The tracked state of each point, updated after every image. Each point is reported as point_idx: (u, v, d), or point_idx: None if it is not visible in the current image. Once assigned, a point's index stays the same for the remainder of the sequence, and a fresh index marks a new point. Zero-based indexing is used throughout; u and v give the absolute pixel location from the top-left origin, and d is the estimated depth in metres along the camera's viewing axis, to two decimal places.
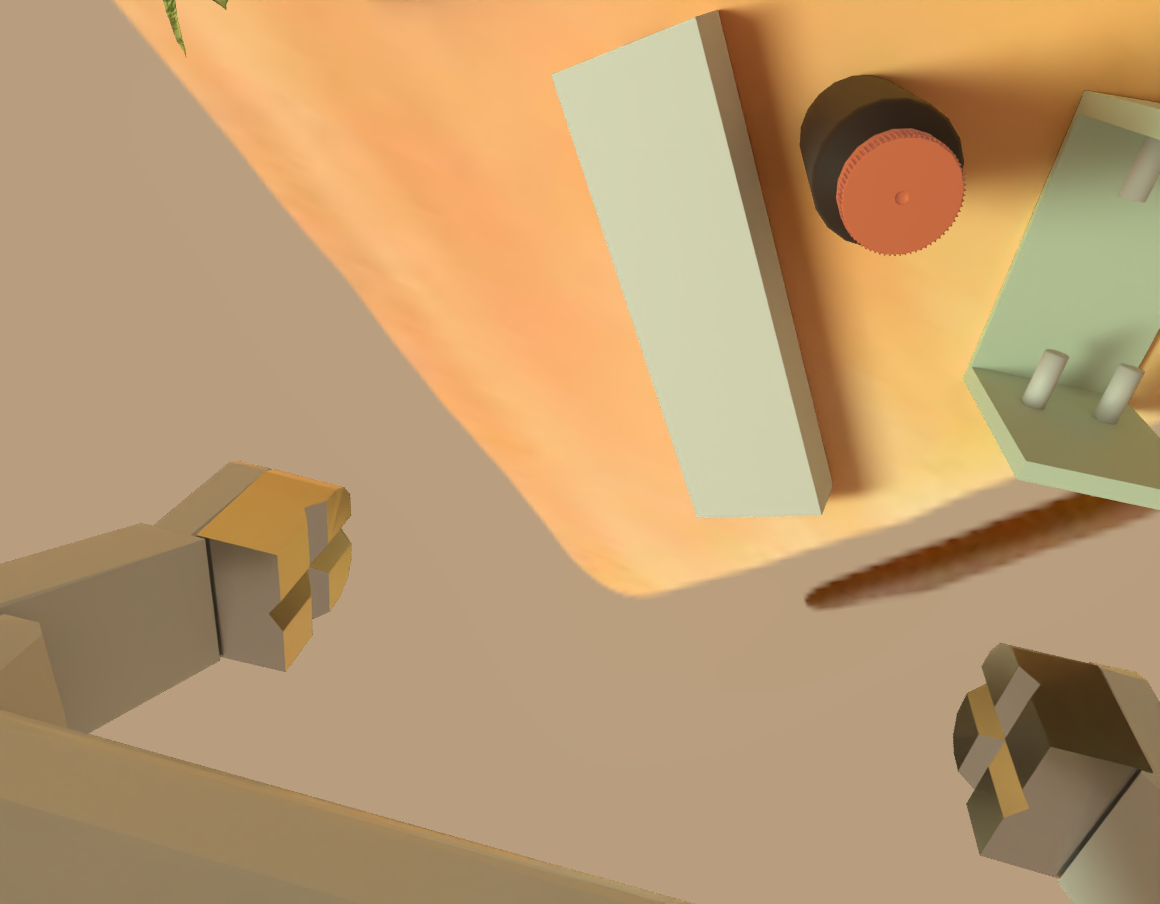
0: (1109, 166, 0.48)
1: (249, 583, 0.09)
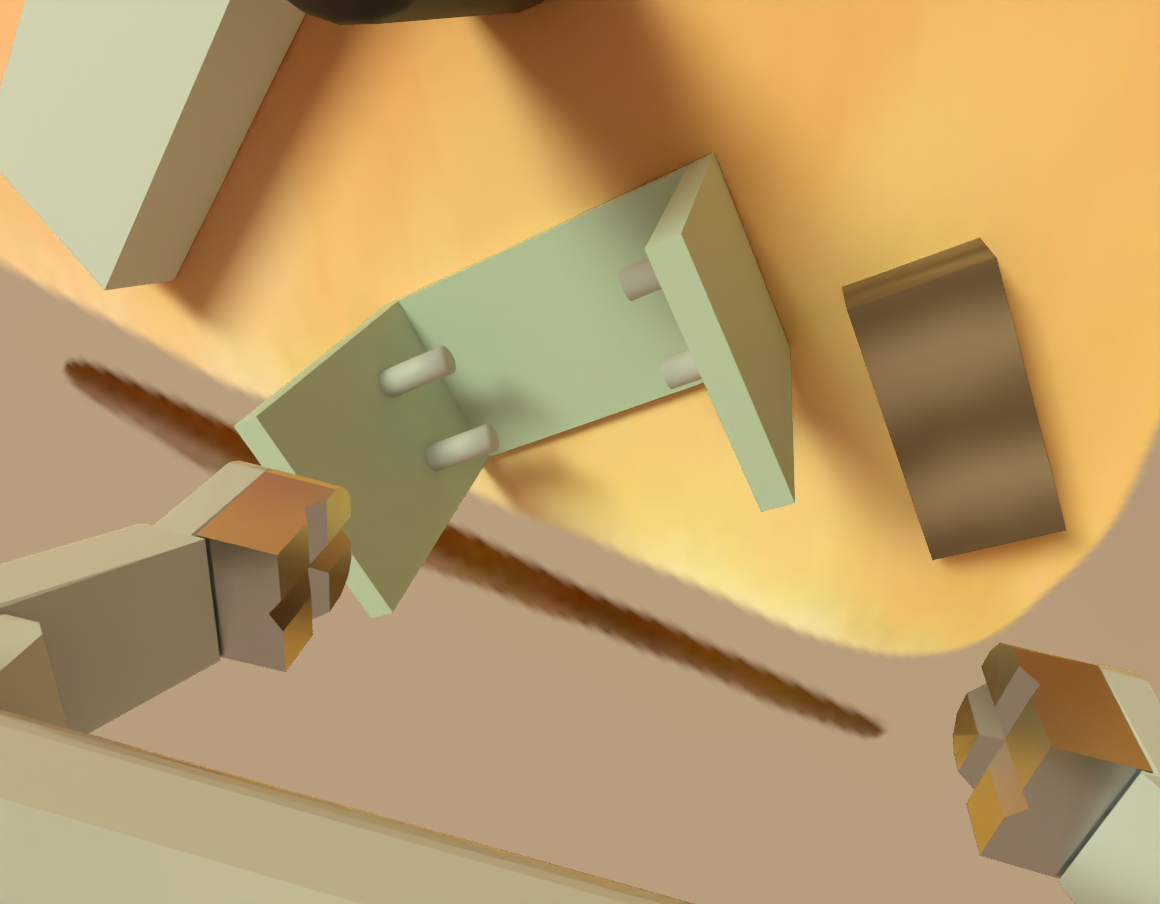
0: None
1: (249, 583, 0.09)
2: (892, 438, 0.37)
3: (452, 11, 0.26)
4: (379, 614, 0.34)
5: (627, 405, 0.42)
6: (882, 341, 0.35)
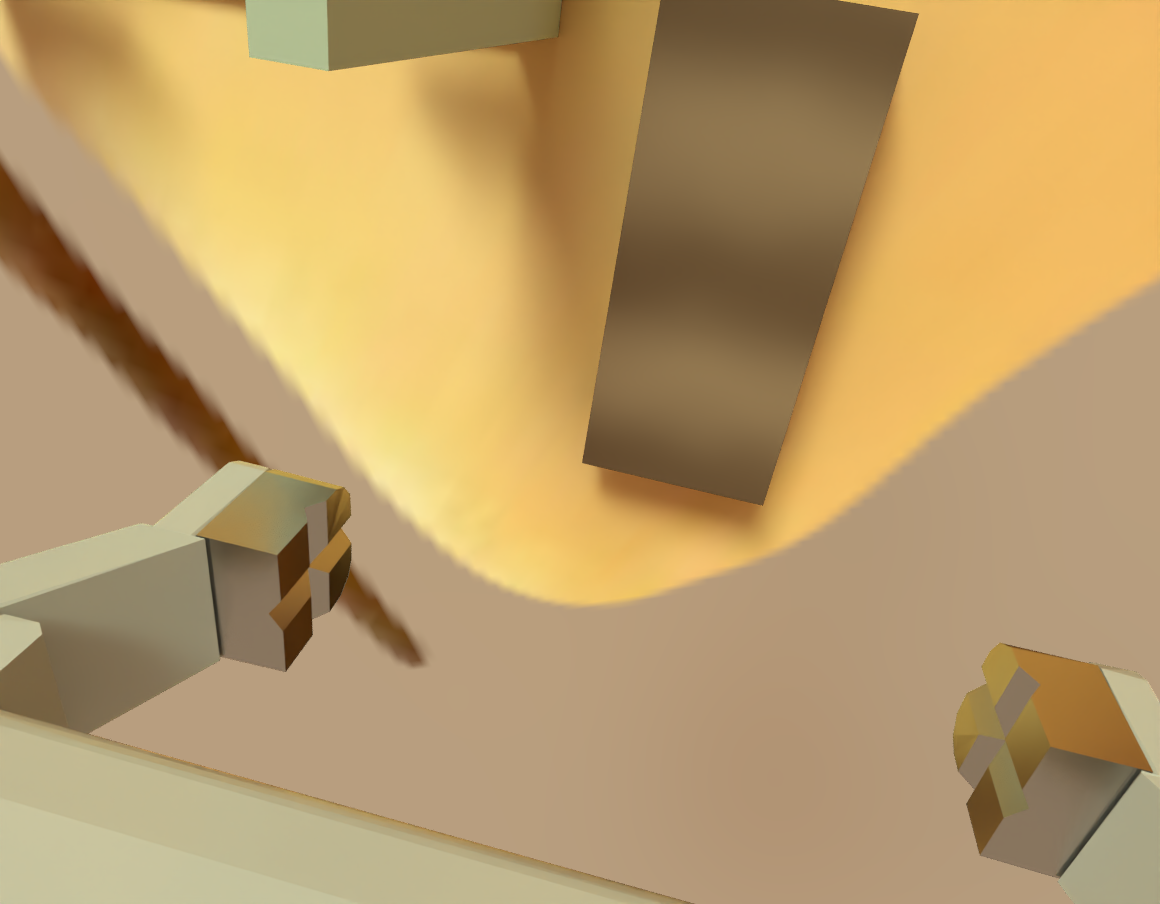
0: None
1: (249, 583, 0.09)
2: (620, 247, 0.23)
3: None
4: None
5: None
6: (687, 67, 0.20)
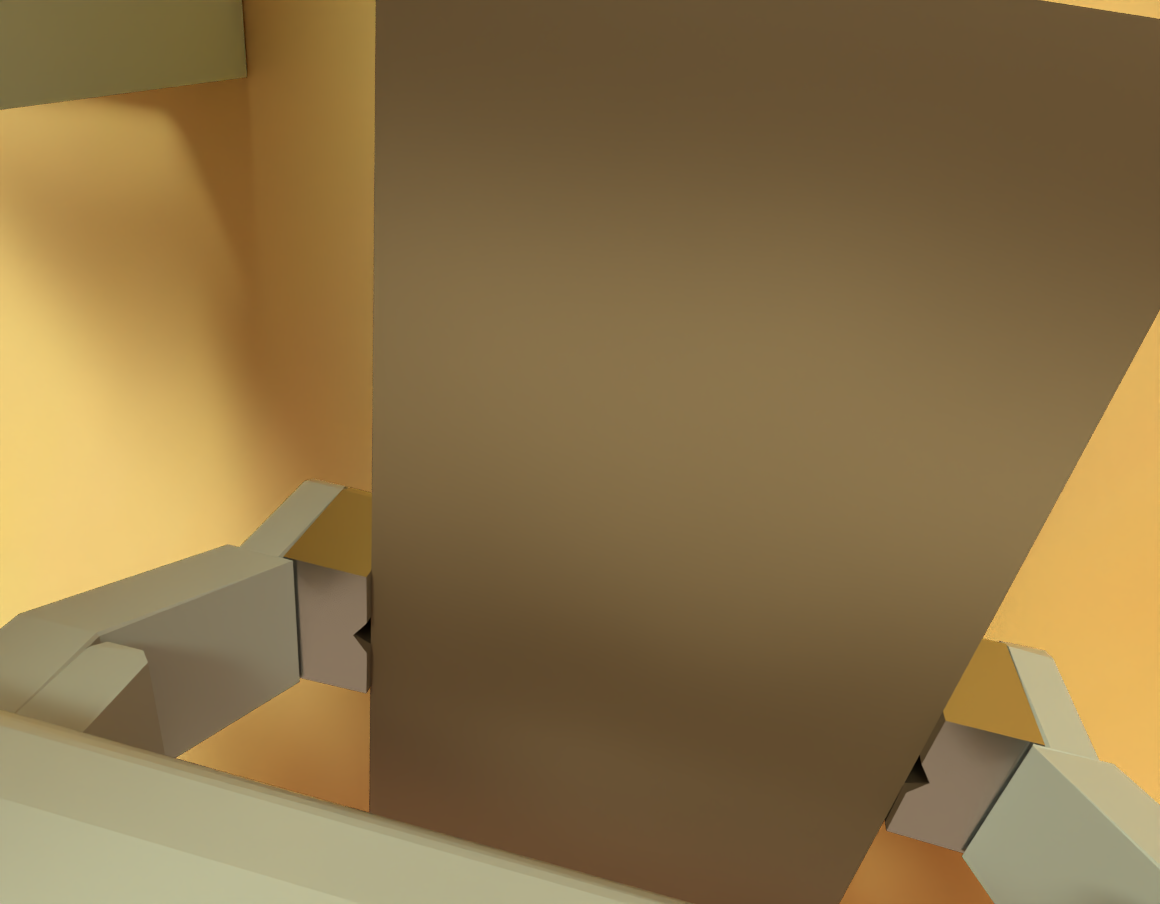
0: None
1: (335, 605, 0.09)
2: (375, 622, 0.09)
3: None
4: None
5: None
6: (487, 205, 0.06)
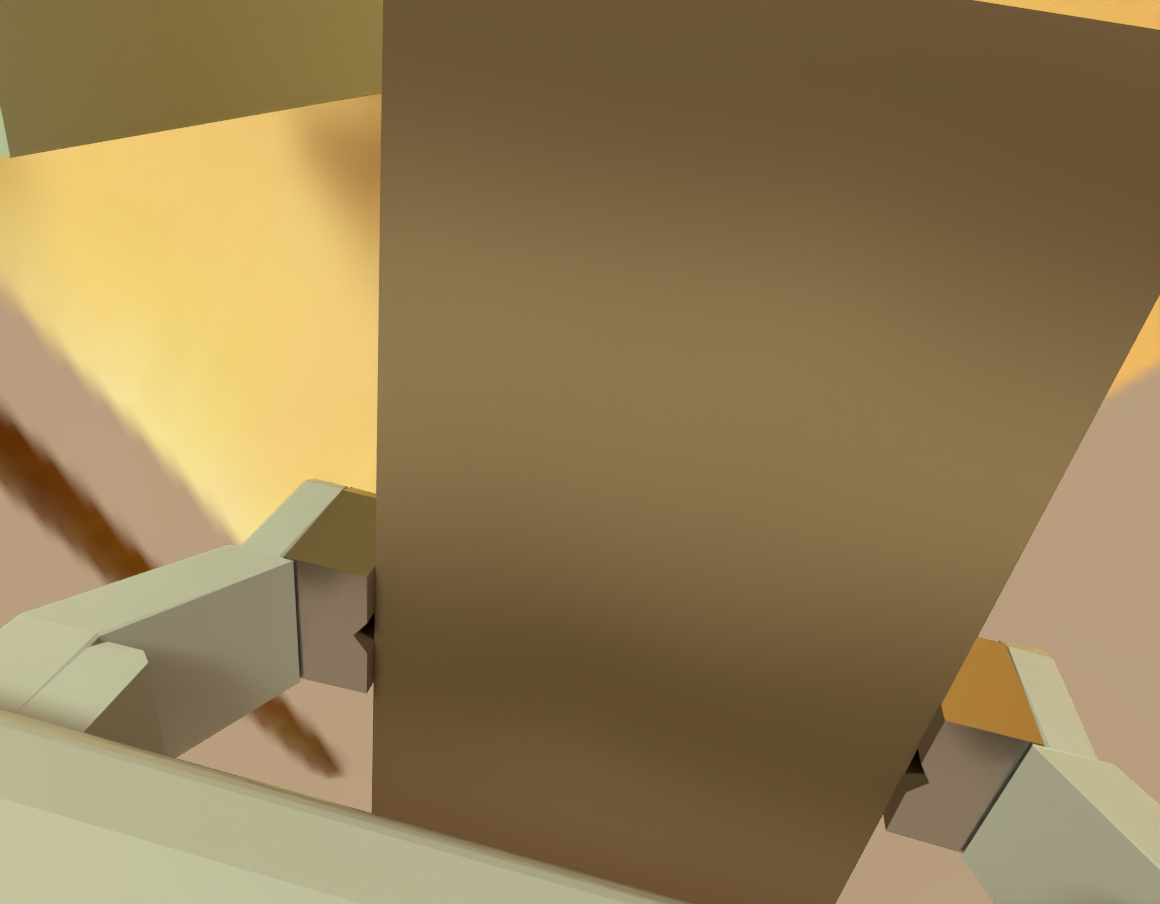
0: None
1: (335, 605, 0.09)
2: (379, 621, 0.09)
3: None
4: None
5: None
6: (491, 209, 0.06)
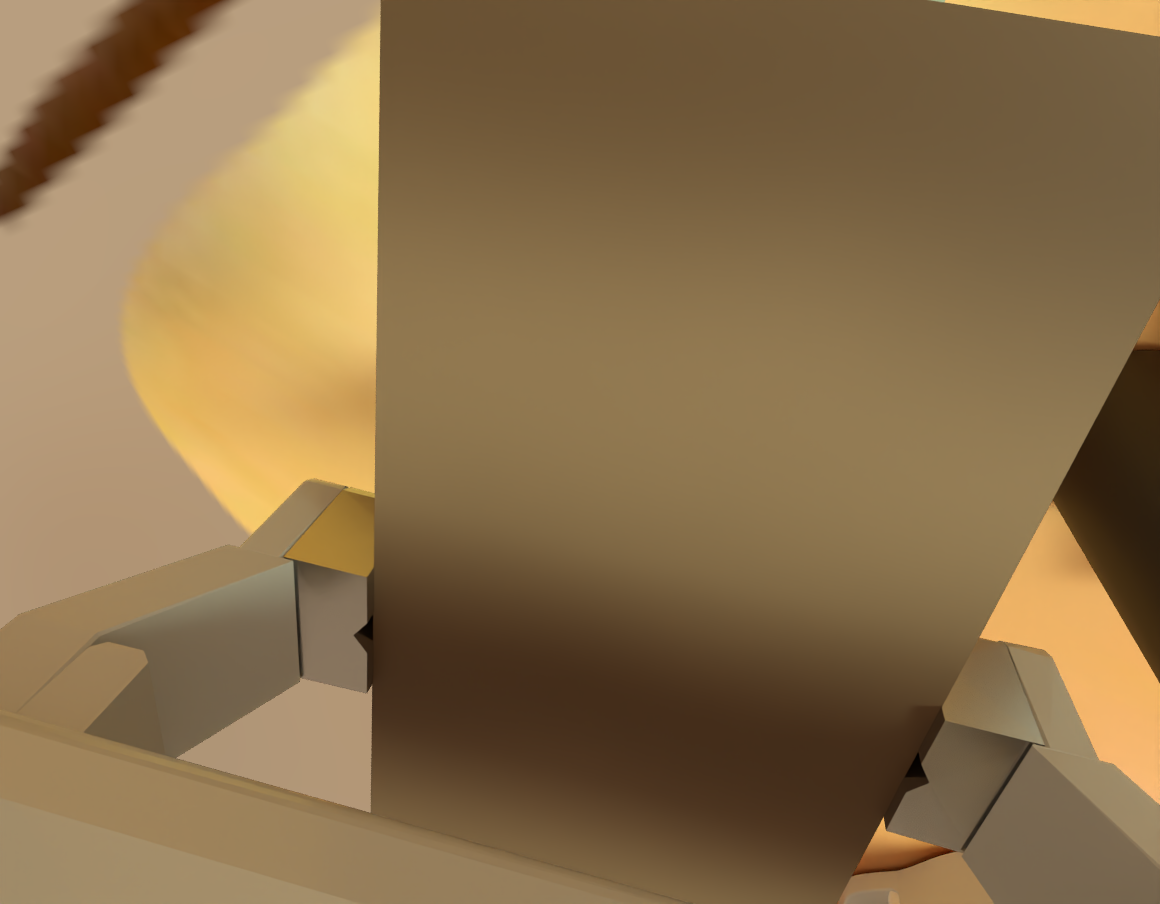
0: None
1: (335, 605, 0.09)
2: (378, 625, 0.09)
3: (1150, 568, 0.21)
4: None
5: None
6: (488, 214, 0.06)
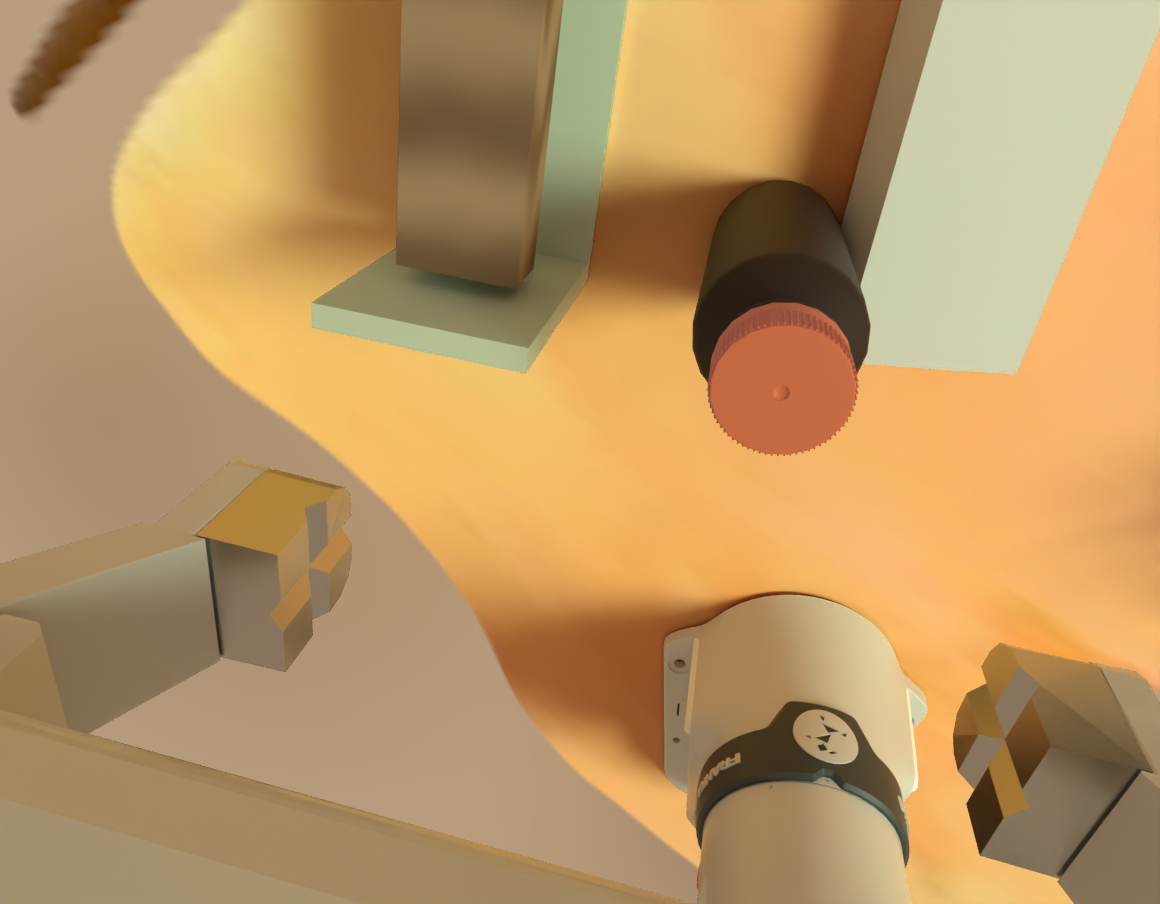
0: (545, 210, 0.45)
1: (249, 583, 0.09)
2: (400, 103, 0.35)
3: (704, 279, 0.35)
4: None
5: None
6: None
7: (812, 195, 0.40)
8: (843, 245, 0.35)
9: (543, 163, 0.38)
